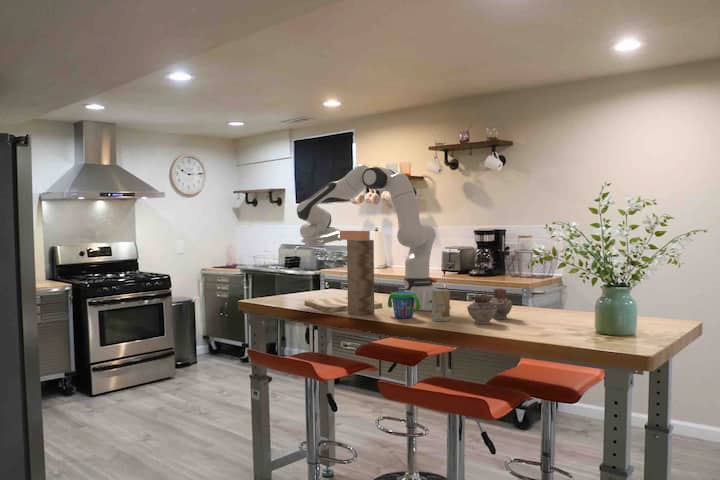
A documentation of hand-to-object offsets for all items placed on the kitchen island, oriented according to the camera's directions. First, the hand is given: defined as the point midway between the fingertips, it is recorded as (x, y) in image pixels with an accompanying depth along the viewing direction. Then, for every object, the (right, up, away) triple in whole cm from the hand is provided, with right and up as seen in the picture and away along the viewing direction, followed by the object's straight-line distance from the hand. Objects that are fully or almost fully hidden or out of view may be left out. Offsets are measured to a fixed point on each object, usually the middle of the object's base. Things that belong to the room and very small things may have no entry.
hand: (331, 241), depth 263 cm
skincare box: (+46, -32, -40) cm, 68 cm away
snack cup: (+31, -32, -31) cm, 55 cm away
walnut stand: (+14, -31, -20) cm, 40 cm away
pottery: (+65, -32, -41) cm, 84 cm away
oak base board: (+5, -31, +3) cm, 31 cm away
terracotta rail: (+11, +1, -20) cm, 22 cm away
